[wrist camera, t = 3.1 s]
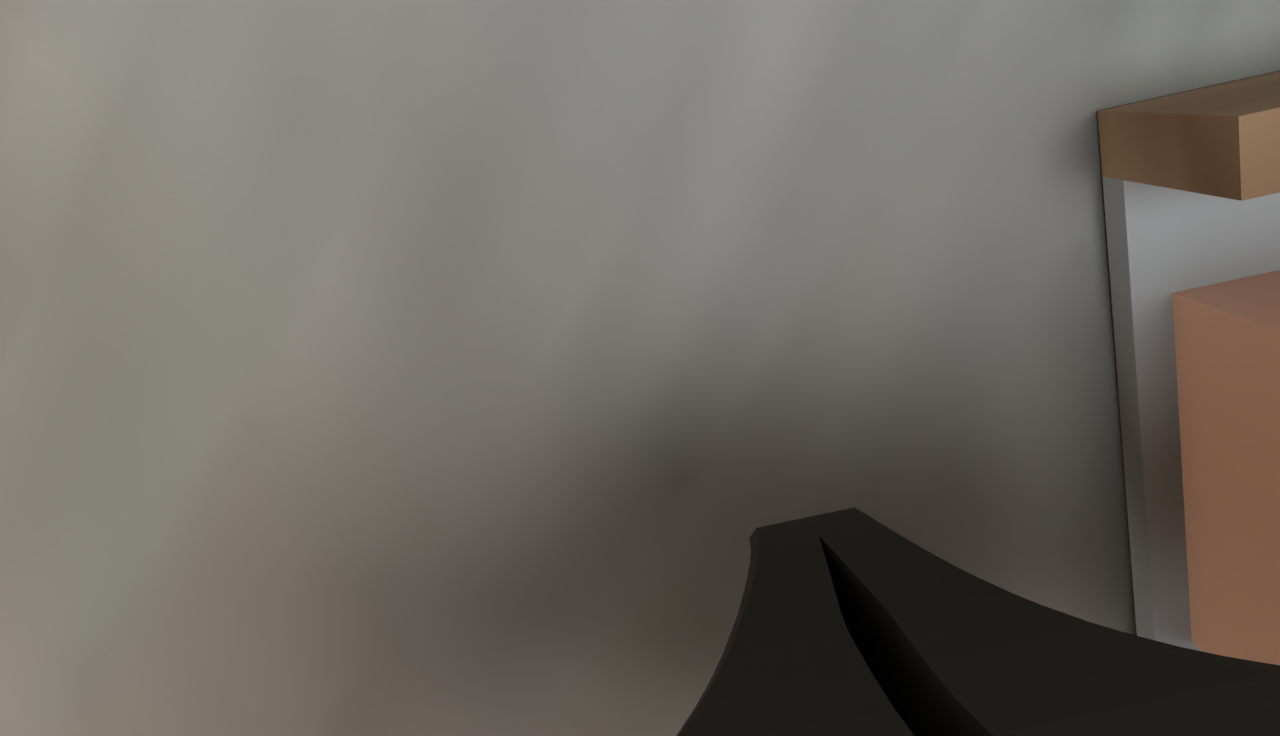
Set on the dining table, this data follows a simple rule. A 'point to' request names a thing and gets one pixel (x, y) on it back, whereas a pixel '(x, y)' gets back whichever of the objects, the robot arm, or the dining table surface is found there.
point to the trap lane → (1178, 289)
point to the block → (1231, 462)
